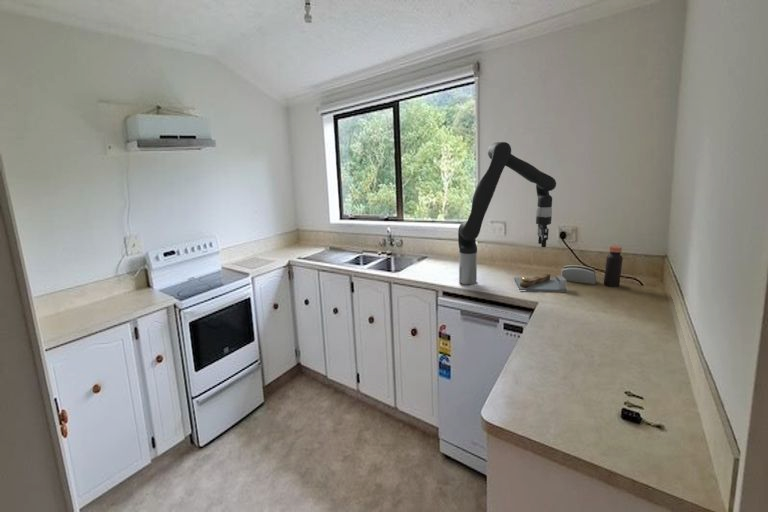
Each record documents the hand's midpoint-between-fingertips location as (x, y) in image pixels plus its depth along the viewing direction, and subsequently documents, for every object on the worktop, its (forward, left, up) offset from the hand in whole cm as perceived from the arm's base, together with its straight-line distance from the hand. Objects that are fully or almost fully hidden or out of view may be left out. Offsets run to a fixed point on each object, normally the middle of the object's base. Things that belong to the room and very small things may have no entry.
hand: (542, 245), depth 199 cm
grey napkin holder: (+17, -7, -18) cm, 26 cm away
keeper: (+5, -20, -17) cm, 27 cm away
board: (-4, -15, -18) cm, 23 cm away
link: (-5, -15, -16) cm, 23 cm away
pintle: (-12, -20, -14) cm, 27 cm away
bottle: (+31, -13, -18) cm, 38 cm away
